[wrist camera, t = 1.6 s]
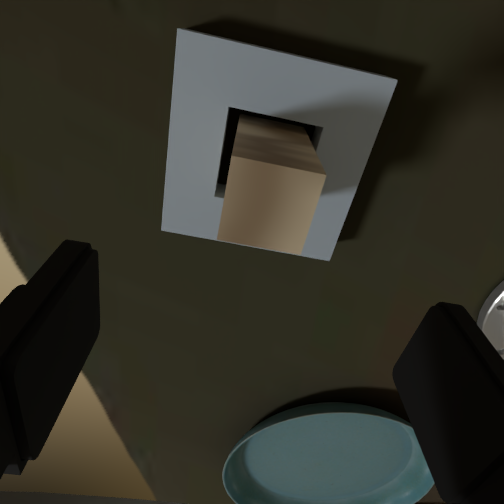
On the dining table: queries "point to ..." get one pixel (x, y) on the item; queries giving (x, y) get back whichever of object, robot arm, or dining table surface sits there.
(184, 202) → the grey square-hole plate
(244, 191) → the plug
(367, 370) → the dining table surface
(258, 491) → the blue plate
